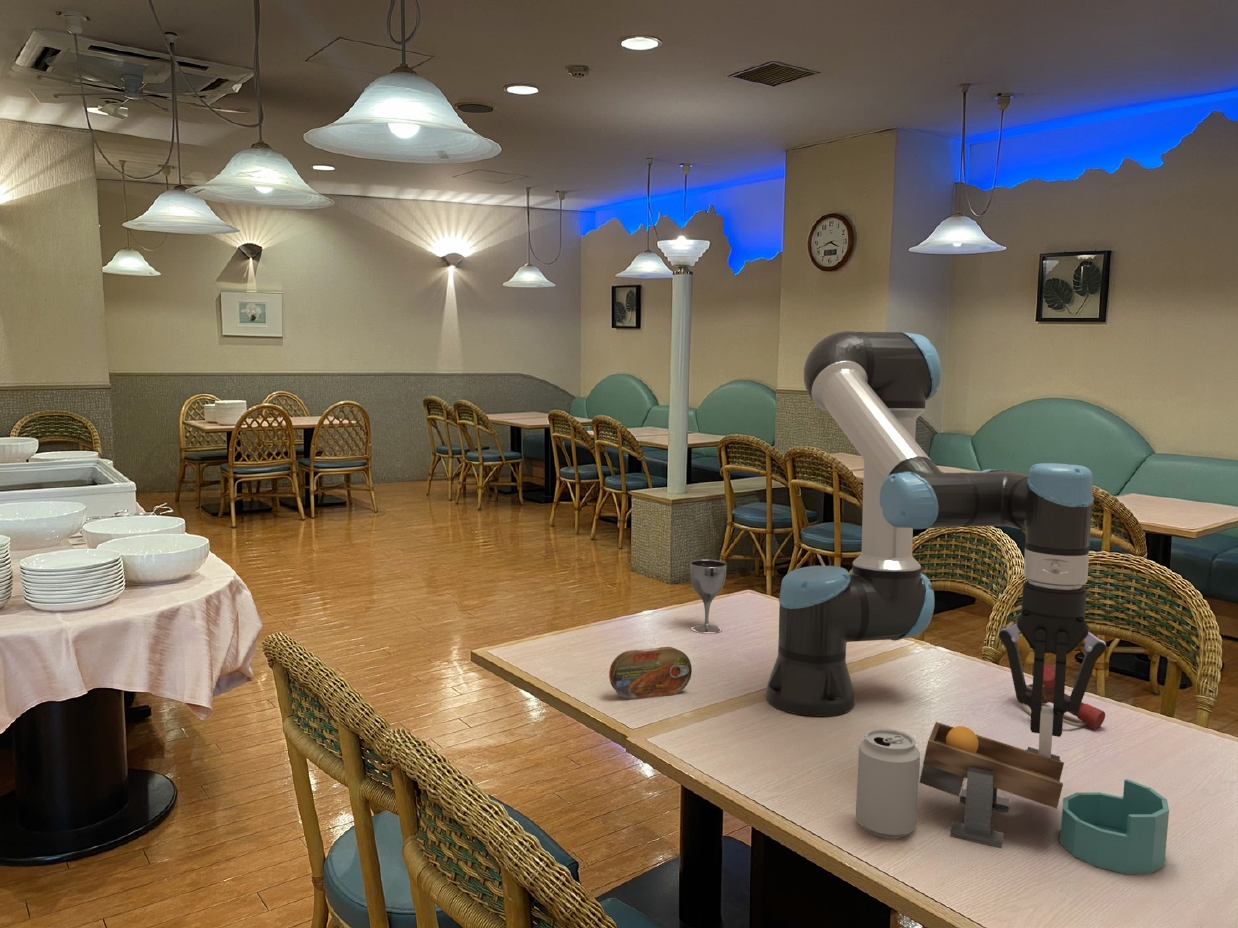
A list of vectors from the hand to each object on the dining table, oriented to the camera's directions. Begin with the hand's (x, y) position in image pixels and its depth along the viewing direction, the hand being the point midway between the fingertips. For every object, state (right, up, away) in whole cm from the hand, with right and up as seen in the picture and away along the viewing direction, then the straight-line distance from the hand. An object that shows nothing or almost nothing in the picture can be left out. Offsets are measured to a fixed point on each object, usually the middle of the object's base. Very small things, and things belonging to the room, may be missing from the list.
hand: (1044, 757), depth 121 cm
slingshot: (+16, -4, +34) cm, 38 cm away
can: (-22, -8, -4) cm, 24 cm away
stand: (-9, -8, -2) cm, 12 cm away
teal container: (+4, -9, -9) cm, 13 cm away
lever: (-8, -4, 0) cm, 8 cm away
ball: (-12, +2, -2) cm, 12 cm away
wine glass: (-37, +2, +82) cm, 90 cm away
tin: (-51, -2, +41) cm, 66 cm away
